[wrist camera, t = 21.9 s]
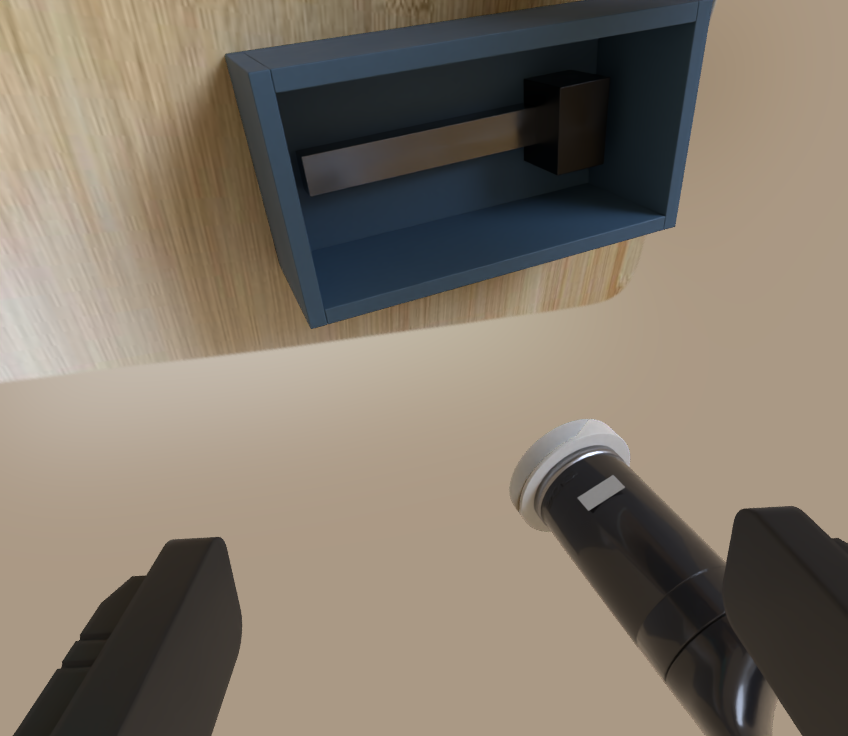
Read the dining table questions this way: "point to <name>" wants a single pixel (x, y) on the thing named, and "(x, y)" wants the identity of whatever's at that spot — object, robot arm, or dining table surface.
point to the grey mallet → (477, 137)
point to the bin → (477, 178)
